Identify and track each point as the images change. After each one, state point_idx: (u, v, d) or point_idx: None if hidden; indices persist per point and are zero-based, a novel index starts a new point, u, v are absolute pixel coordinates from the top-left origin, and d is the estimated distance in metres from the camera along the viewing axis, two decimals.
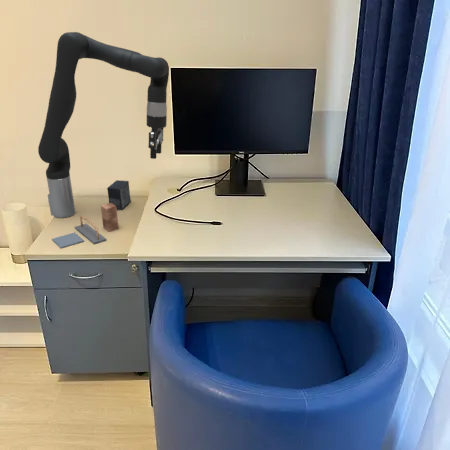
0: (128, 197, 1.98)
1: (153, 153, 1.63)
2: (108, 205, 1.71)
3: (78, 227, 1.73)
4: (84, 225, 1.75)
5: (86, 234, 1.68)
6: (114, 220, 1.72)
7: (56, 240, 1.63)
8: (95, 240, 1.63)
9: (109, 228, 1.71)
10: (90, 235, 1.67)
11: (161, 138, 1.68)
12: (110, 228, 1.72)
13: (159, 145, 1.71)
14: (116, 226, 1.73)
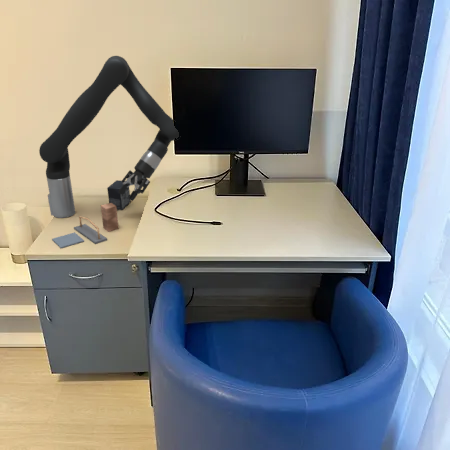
0: (128, 197, 1.98)
1: (135, 196, 1.71)
2: (108, 205, 1.71)
3: (77, 227, 1.73)
4: (83, 225, 1.75)
5: (86, 234, 1.68)
6: (114, 220, 1.72)
7: (56, 240, 1.63)
8: (96, 240, 1.63)
9: (109, 228, 1.71)
10: (90, 235, 1.67)
11: (134, 183, 1.77)
12: (110, 228, 1.72)
13: (126, 187, 1.77)
14: (116, 226, 1.73)
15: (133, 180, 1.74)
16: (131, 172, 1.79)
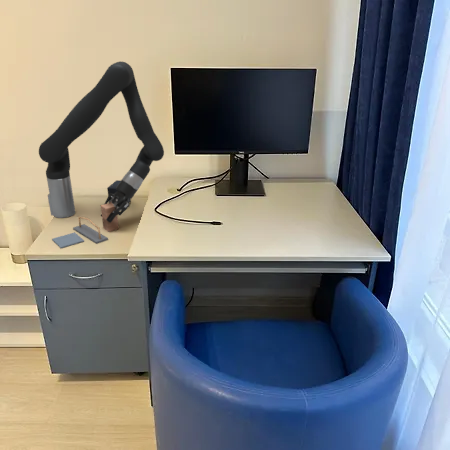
0: None
1: (113, 218, 1.69)
2: (108, 205, 1.71)
3: (77, 228, 1.73)
4: (82, 225, 1.75)
5: (86, 234, 1.68)
6: (114, 219, 1.72)
7: (56, 240, 1.63)
8: (97, 239, 1.64)
9: (109, 228, 1.71)
10: (91, 235, 1.67)
11: None
12: (110, 228, 1.72)
13: None
14: (116, 226, 1.73)
15: (114, 201, 1.72)
16: (112, 194, 1.76)
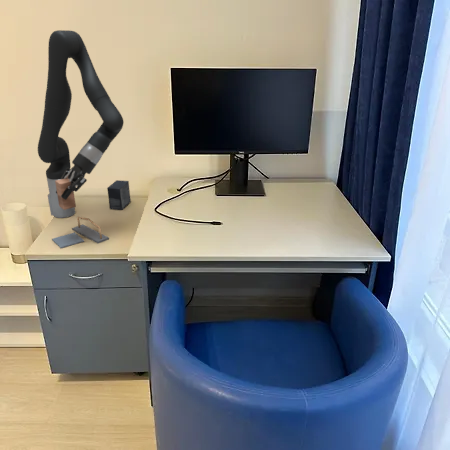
0: (128, 197, 1.98)
1: (68, 194, 1.55)
2: (63, 180, 1.56)
3: (76, 228, 1.72)
4: (81, 226, 1.74)
5: (87, 234, 1.67)
6: (70, 196, 1.57)
7: (56, 240, 1.63)
8: (98, 239, 1.64)
9: (64, 206, 1.56)
10: (91, 235, 1.67)
11: None
12: (66, 206, 1.57)
13: None
14: (73, 204, 1.58)
15: (71, 176, 1.57)
16: (69, 169, 1.61)
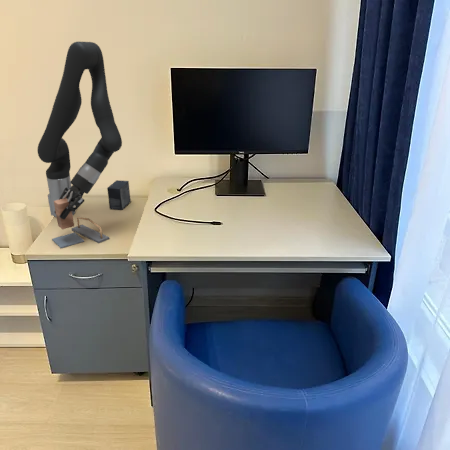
0: (128, 197, 1.98)
1: (66, 214, 1.56)
2: (62, 200, 1.58)
3: (75, 228, 1.72)
4: (81, 226, 1.74)
5: (87, 234, 1.67)
6: (68, 216, 1.59)
7: (56, 240, 1.63)
8: (98, 239, 1.64)
9: (63, 225, 1.58)
10: (91, 235, 1.67)
11: None
12: (64, 225, 1.59)
13: None
14: (71, 223, 1.60)
15: (69, 196, 1.59)
16: (67, 189, 1.63)
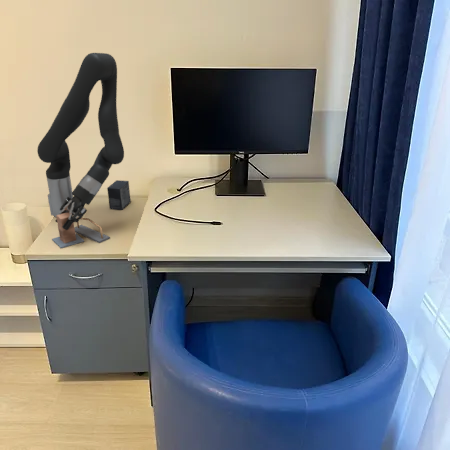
0: (128, 197, 1.98)
1: (69, 225, 1.58)
2: (64, 215, 1.60)
3: (75, 228, 1.72)
4: (80, 226, 1.74)
5: (87, 234, 1.67)
6: (70, 230, 1.61)
7: (56, 240, 1.63)
8: (99, 239, 1.64)
9: (65, 239, 1.61)
10: (91, 235, 1.67)
11: None
12: (67, 239, 1.61)
13: None
14: (73, 237, 1.63)
15: (70, 207, 1.61)
16: (69, 198, 1.65)
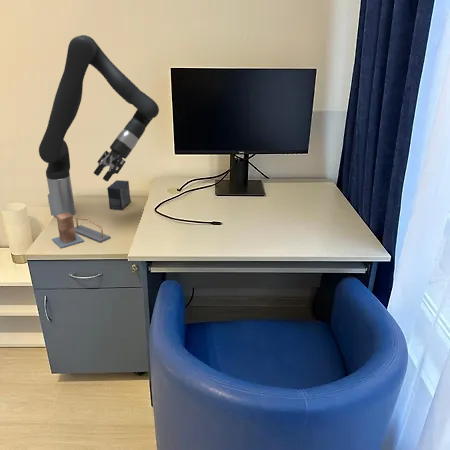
0: (128, 197, 1.98)
1: (109, 176, 1.63)
2: (64, 215, 1.60)
3: None
4: (79, 226, 1.74)
5: (87, 234, 1.67)
6: (70, 230, 1.61)
7: (56, 240, 1.63)
8: (100, 238, 1.64)
9: (65, 239, 1.61)
10: (92, 235, 1.67)
11: None
12: (67, 239, 1.61)
13: (101, 168, 1.70)
14: (73, 237, 1.63)
15: (108, 160, 1.66)
16: (107, 152, 1.71)
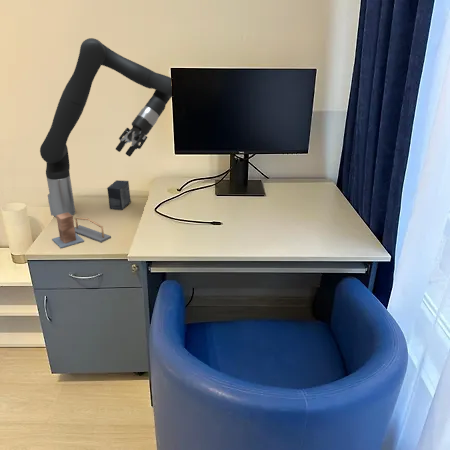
0: (128, 197, 1.98)
1: (132, 151, 1.69)
2: (64, 215, 1.60)
3: None
4: (79, 226, 1.74)
5: (87, 234, 1.67)
6: (70, 230, 1.61)
7: (56, 240, 1.63)
8: (100, 238, 1.64)
9: (65, 239, 1.61)
10: (92, 235, 1.67)
11: (131, 141, 1.75)
12: (67, 239, 1.61)
13: (123, 145, 1.75)
14: (73, 237, 1.63)
15: (130, 136, 1.72)
16: (128, 129, 1.76)
